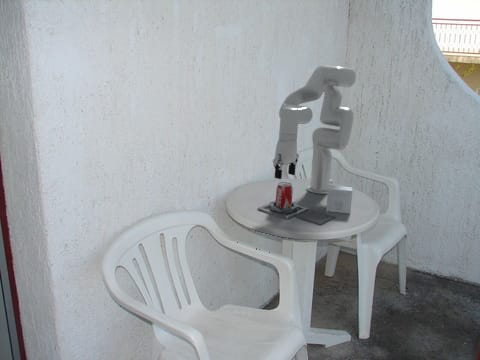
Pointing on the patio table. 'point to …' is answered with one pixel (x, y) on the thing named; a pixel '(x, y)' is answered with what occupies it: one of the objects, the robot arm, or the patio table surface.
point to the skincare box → (339, 199)
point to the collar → (283, 210)
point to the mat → (316, 217)
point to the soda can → (284, 195)
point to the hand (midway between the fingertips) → (284, 176)
